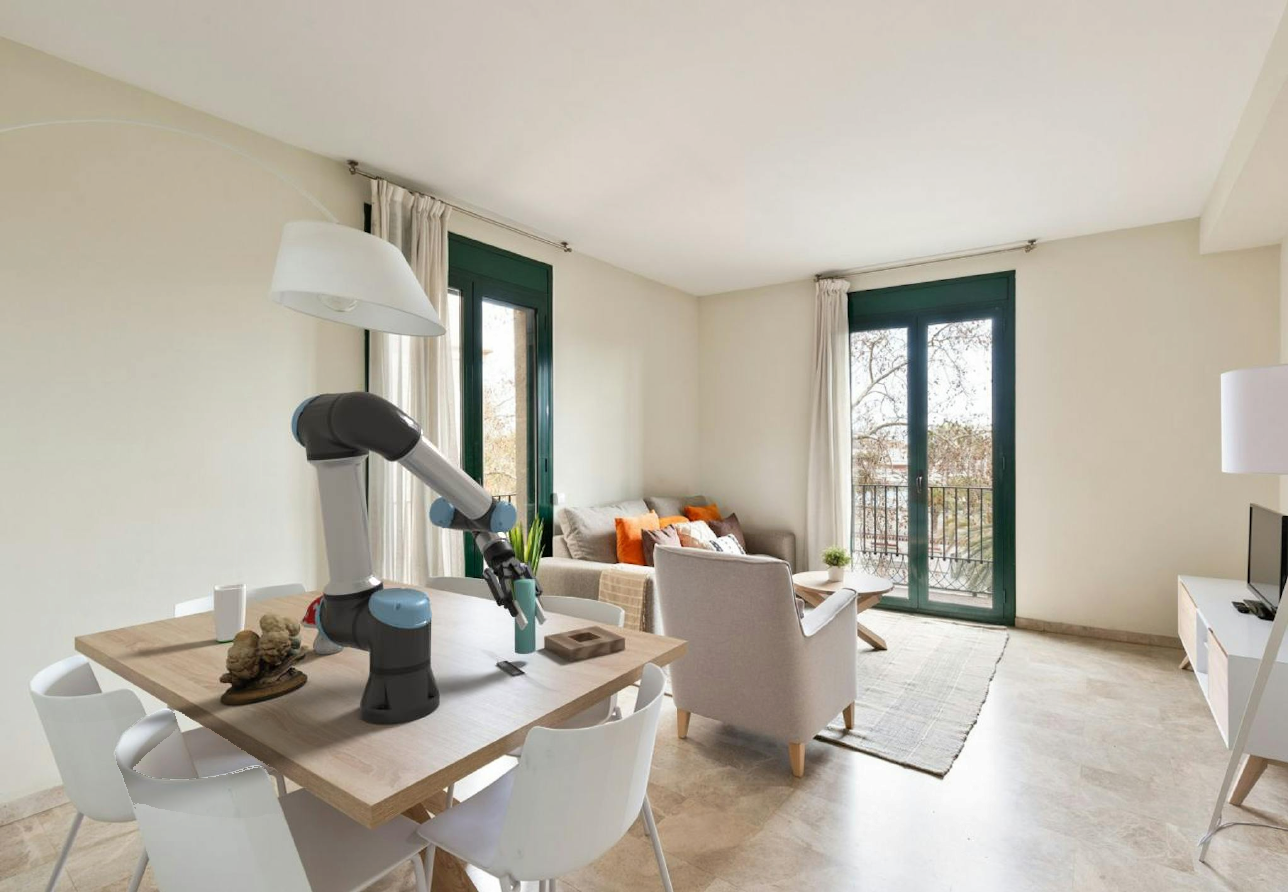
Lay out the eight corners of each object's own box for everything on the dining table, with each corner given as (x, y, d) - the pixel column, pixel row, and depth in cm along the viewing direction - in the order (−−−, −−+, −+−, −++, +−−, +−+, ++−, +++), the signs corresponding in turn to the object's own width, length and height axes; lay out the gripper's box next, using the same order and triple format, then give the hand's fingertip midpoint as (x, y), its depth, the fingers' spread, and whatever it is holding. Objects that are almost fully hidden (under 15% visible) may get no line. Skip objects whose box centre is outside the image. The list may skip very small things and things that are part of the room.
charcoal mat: (513, 676, 142) (513, 674, 142) (496, 664, 150) (496, 662, 150) (552, 667, 148) (552, 665, 148) (533, 656, 156) (533, 654, 156)
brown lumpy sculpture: (293, 673, 145) (293, 601, 146) (323, 682, 139) (323, 607, 140) (208, 699, 130) (208, 618, 130) (238, 711, 124) (238, 626, 124)
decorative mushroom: (369, 648, 164) (369, 592, 164) (317, 663, 152) (317, 602, 152) (341, 639, 172) (341, 586, 172) (289, 653, 160) (289, 595, 160)
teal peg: (520, 655, 146) (519, 584, 146) (511, 650, 150) (511, 580, 150) (539, 651, 149) (538, 581, 149) (530, 646, 153) (529, 578, 153)
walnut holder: (570, 666, 149) (570, 649, 149) (544, 651, 160) (544, 636, 160) (625, 653, 158) (624, 637, 158) (596, 640, 170) (596, 625, 170)
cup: (243, 634, 177) (244, 582, 177) (246, 640, 171) (246, 587, 172) (213, 639, 173) (213, 586, 173) (214, 645, 167) (214, 590, 167)
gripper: (519, 553, 167) (557, 625, 155) (459, 562, 154) (495, 641, 142) (530, 535, 163) (570, 607, 152) (470, 543, 150) (508, 622, 139)
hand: (534, 623), depth 147 cm, fingers closed on teal peg, 5 cm apart
